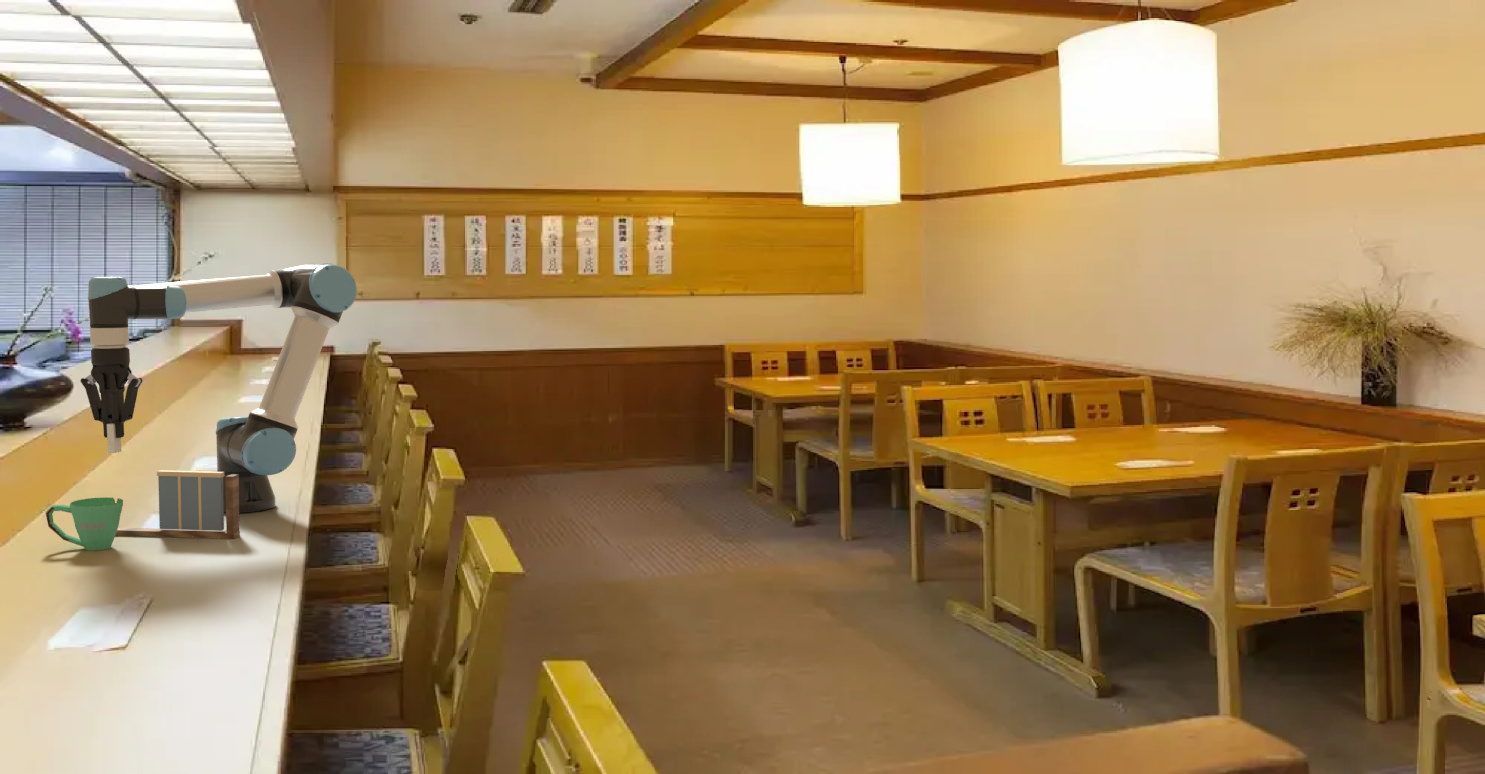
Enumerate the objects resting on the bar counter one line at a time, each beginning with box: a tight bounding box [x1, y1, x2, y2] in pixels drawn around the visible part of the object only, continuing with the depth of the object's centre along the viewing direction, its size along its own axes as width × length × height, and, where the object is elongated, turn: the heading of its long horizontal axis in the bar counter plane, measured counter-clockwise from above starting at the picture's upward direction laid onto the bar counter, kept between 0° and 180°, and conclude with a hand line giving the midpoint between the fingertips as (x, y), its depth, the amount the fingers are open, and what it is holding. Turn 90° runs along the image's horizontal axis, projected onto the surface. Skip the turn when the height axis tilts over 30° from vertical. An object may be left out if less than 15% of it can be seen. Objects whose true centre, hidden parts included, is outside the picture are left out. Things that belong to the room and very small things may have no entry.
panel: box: [156, 469, 225, 531], centre depth 259 cm, size 14×2×13 cm, turn 88°
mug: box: [45, 496, 124, 552], centre depth 245 cm, size 15×10×10 cm
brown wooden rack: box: [115, 474, 241, 540], centre depth 259 cm, size 31×3×14 cm, turn 88°
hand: (114, 452), depth 259 cm, fingers closed
